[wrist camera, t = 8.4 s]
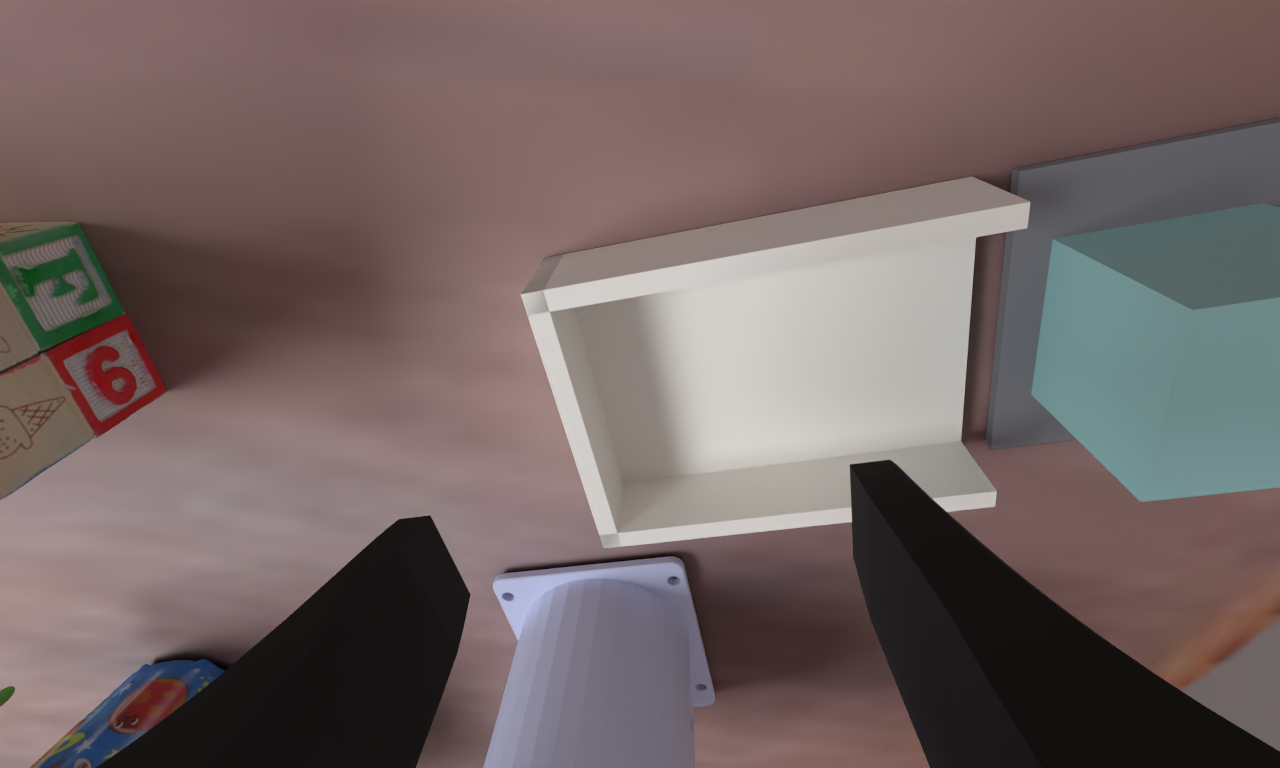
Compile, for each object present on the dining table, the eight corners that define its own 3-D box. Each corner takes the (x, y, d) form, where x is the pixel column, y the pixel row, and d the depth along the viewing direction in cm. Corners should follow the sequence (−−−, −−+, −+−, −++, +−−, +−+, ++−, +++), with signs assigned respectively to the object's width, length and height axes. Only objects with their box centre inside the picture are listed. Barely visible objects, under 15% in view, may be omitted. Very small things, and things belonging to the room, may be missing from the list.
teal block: (1211, 370, 17) (1387, 476, 13) (1031, 394, 18) (1140, 502, 14) (1263, 203, 15) (1498, 265, 11) (1052, 238, 16) (1193, 310, 11)
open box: (953, 446, 20) (995, 506, 17) (612, 488, 22) (603, 548, 19) (971, 176, 15) (1030, 201, 13) (544, 257, 17) (520, 294, 15)
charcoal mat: (1219, 414, 19) (1229, 420, 18) (985, 443, 20) (990, 450, 19) (1318, 110, 14) (1335, 111, 14) (1012, 168, 15) (1020, 171, 15)
